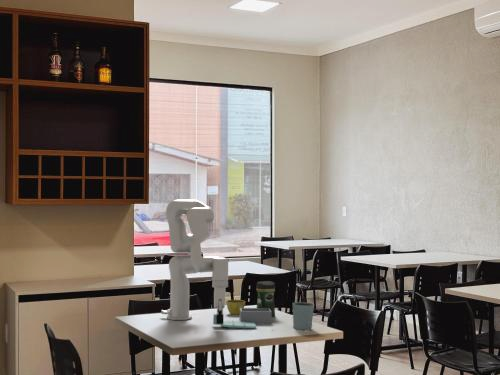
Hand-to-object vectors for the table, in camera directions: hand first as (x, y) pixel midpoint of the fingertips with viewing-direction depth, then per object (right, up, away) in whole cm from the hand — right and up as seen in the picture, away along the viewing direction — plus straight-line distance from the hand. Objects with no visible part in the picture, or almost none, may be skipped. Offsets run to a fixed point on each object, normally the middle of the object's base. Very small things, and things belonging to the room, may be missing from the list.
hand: (219, 322), depth 329 cm
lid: (+7, -2, +1) cm, 7 cm away
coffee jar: (+22, -3, +31) cm, 38 cm away
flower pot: (+7, -3, +36) cm, 37 cm away
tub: (+17, -3, +14) cm, 22 cm away
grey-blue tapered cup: (+39, -3, +1) cm, 39 cm away
